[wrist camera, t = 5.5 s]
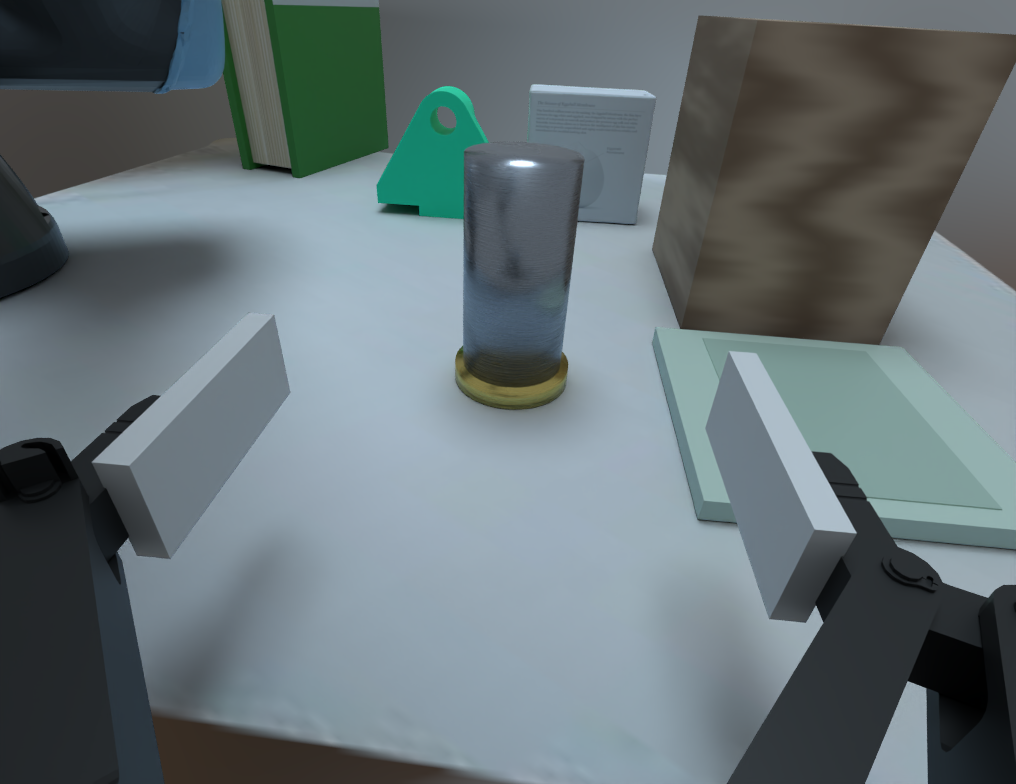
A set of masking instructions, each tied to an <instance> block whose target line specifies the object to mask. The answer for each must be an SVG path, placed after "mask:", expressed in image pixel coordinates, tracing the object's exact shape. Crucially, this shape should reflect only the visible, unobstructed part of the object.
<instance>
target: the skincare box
mask: <svg viewBox="0 0 1016 784" xmlns="http://www.w3.org/2000/svg"><path fill="white" fill-rule="evenodd" d="M655 103H656V97H655V96H654V95H652V94H650V93H649V92H647V91H644V90H628V89H609V88H589V87H571V86H570V87H569V86H554V85H538V84H533V85H532V86H531V88H530V93H529V117H528V135H527V142H530V143H541V144H548V145H554V146H559V147H563V148H567V149H571V150H574V151H576V152H578V153H580V154H582V155H583V156H584V158H585V161H584V169H583V178H582V186H581V195H580V203H579V212H578V220H577V221H592V222H609V223H622V224H635V223H636V220H637V211H638V205H639V199H640V194H641V187H642V181H643V175H644V169H645V162H646V157H647V151H648V145H649V138H650V132H651V125H652V120H653V113H654V109H655Z"/></svg>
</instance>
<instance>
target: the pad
mask: <svg viewBox="0 0 1016 784" xmlns="http://www.w3.org/2000/svg"><path fill="white" fill-rule="evenodd" d="M652 343H653V347H654V351H655V355H656V358H657V362H658V366H659V370H660V374H661V378H662V382H663V386H664V390H665V393H666V397H667V401H668V405H669V409H670V413H671V417H672V421H673V425H674V428H675V432H676V436H677V440H678V444H679V448H680V452H681V456H682V460H683V463H684V467H685V471H686V475H687V479H688V483H689V487H690V491H691V495H692V498H693V502H694V506H695V510H696V514H697V518H698V519H702V520H713V521H723V522H734V523H737V522H736V519H735V516H734V513H733V510H732V507H731V504H730V501H729V498H728V495H727V492H726V489H725V486H724V483H723V480H722V477H721V474H720V471H719V468H718V465H717V462H716V459H715V456H714V453H713V450H712V447H711V444H710V441H709V438H708V435H707V432H706V429H705V427H706V424H707V421H708V417H709V414H710V411H711V408H712V404H713V401H714V398H715V395H716V391H717V388H718V385H719V381H720V378H721V375H722V372H723V368H724V365H725V362H726V358H727V355H728V352H729V351H735V352H748V353H757V355H758V357H759V359H760V361H761V362H762V364H763V366H764V368H765V370H766V371H767V373H768V375H769V377H770V379H771V380H772V382H773V384H774V386H775V388H776V389H777V391H778V393H779V395H780V396H781V398H782V400H783V402H784V404H785V405H786V407H787V409H788V411H789V413H790V414H791V416H792V418H793V420H794V422H795V423H796V425H797V427H798V429H799V431H800V432H801V434H802V436H803V438H804V439H805V441H806V443H807V445H808V447H809V448H810V450H811V451H815V452H826V453H832V454H833V455H834V456H835V457H836V458H837V459H839V460H840V461H841V462H842V463H843V464H844V465H846V466H847V467H848V468H849V469H850V471H851V473H852V474H853V476H854V477H855V479H856V481H857V482H858V484H859V488H861V489H862V490H863V492H864V494H865V495H866V497H867V501H869V502H870V503H871V505H872V506H873V508H874V510H875V511H876V513H877V515H878V516H879V518H880V519H881V521H882V523H883V524H884V526H885V527H886V529H887V531H888V532H889V534H890V536H891V537H892V538H902V539H912V540H923V541H933V542H944V543H954V544H965V545H975V546H986V547H996V548H1007V549H1016V462H1015V461H1014V460H1013V459H1012V458H1011V457H1010V456H1009V455H1008V454H1007V453H1006V452H1005V451H1004V450H1003V449H1002V448H1001V447H1000V446H999V445H998V444H997V443H996V442H995V441H994V440H993V439H992V438H991V437H990V436H989V435H988V434H987V433H986V432H985V431H984V430H983V429H982V428H981V427H980V426H979V424H978V423H977V422H976V421H975V420H974V419H973V418H972V417H971V416H970V415H969V414H968V413H967V412H966V411H965V410H964V409H963V408H962V407H961V406H960V405H959V404H958V403H957V402H956V401H955V400H954V399H953V398H952V397H951V396H950V395H949V394H948V393H947V392H946V391H945V390H944V389H943V388H942V387H941V386H940V385H939V384H938V383H937V382H936V381H935V380H934V379H933V378H932V377H931V376H930V375H929V374H928V373H927V372H926V371H925V370H924V369H923V368H922V367H921V366H920V365H919V364H918V363H917V362H916V361H915V360H914V358H913V357H912V356H911V355H910V354H909V353H908V352H907V351H906V350H905V349H904V348H903V347H894V346H882V345H870V344H857V343H845V342H833V341H820V340H808V339H796V338H784V337H771V336H759V335H747V334H734V333H722V332H710V331H697V330H685V329H673V328H661V327H656V328H655V332H654V337H653V341H652Z"/></svg>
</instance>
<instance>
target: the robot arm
mask: <svg viewBox="0 0 1016 784" xmlns="http://www.w3.org/2000/svg"><path fill="white" fill-rule="evenodd" d="M224 65H225V38H224V24H223V12H222V3H221V0H0V89H19V90H71V91H73V90H74V91H126V92H127V91H128V92H153V93H156V94H163V93H166V92H168V91H170V90H175V89H176V90H177V89H197V88H206V87H210V86H212V85H213V84H215V83H216V82H217V81H218V80H219V79H220V77H221V76H222V73H223V70H224ZM68 255H69V252H68V249H67V246H66V244H65V242H64V239H63V237H62V234H61V232H60V229H59V227H58V225H57V223H56V221H55V220H54V218H53V217H52V216H51V214H50V213H49V212H48V211H47V210H46V209H44V208H42V207H40V206H38V205H37V203H36V201H35V200H34V198H33V197H32V195H31V194H30V192H29V191H28V189H27V188H26V187H25V185H24V184H23V183H22V181H21V180H20V179H19V177H18V176H17V175H16V174H15V172H14V171H13V170H12V169H11V167H10V166H9V165H8V164H7V162H6V161H5V160H4V159H3V158H2V156H1V155H0V298H1V297H4V296H7V295H9V294H12V293H15V292H17V291H20V290H22V289H24V288H27V287H29V286H31V285H33V284H35V283H37V282H39V281H41V280H43V279H45V278H46V277H48V276H50V275H51V274H53V273H54V272H56V271H57V270H58V269H59V268H60V267H61V266H62V265H63V264H64V263H65V262H66V260H67V258H68ZM289 394H290V389H289V384H288V379H287V374H286V370H285V365H284V360H283V355H282V350H281V346H280V341H279V336H278V331H277V326H276V322H275V317H274V315H272V314H260V313H248V314H247V315H245V316H244V317H243V318H242V319H241V320H240V321H239V322H238V323H237V324H236V325H235V326H234V327H233V328H232V329H231V330H230V331H229V332H228V333H227V334H226V335H224V336H223V337H222V338H221V339H220V340H219V341H218V342H217V343H216V344H215V345H214V346H213V347H212V348H211V349H210V350H209V351H208V352H207V353H206V354H205V355H203V356H202V357H201V358H200V359H199V360H198V361H197V362H196V363H195V364H194V365H193V366H192V367H191V368H190V369H189V370H188V371H187V372H186V373H185V374H184V375H183V376H181V377H180V378H179V379H178V380H177V381H176V382H175V383H174V384H173V385H172V386H171V387H170V388H169V389H168V390H167V391H166V392H165V393H164V394H163V395H162V396H157V395H152V396H150V397H148V398H146V399H144V400H142V401H140V402H139V403H137V404H135V405H133V406H131V407H130V408H129V409H128V410H127V411H126V412H125V413H124V414H123V415H121V416H120V417H119V418H118V419H117V422H114V423H113V424H112V425H110V426H109V427H108V428H107V429H106V430H105V433H102V434H101V435H100V436H98V437H97V438H96V439H95V440H94V441H93V442H92V443H91V444H90V445H89V446H87V447H86V448H85V449H84V450H83V451H82V452H81V453H80V454H79V455H78V456H76V457H75V458H74V459H73V460H72V461H70V459H69V457H68V456H67V454H66V452H65V450H64V448H63V446H62V445H61V443H60V441H57V440H54V439H51V438H34V439H29V440H24V441H20V442H17V443H14V444H12V445H9V446H6V447H4V448H3V449H1V450H0V784H165V783H164V778H163V773H162V768H161V762H160V757H159V752H158V747H157V741H156V736H155V731H154V726H153V721H152V715H151V710H150V705H149V700H148V694H147V689H146V684H145V679H144V673H143V668H142V663H141V658H140V652H139V647H138V642H137V637H136V632H135V626H134V621H133V616H132V611H131V605H130V600H129V595H128V590H127V584H126V579H125V574H124V569H123V564H122V560H121V558H120V556H119V554H118V552H117V551H118V549H119V548H120V547H121V546H122V545H123V543H124V542H125V541H126V540H127V539H128V538H129V540H130V542H131V544H132V546H133V548H134V550H135V552H136V554H137V556H147V557H157V558H167V559H171V557H172V556H173V555H174V553H175V552H176V550H177V549H178V548H179V546H180V545H181V543H182V542H183V541H184V539H185V538H186V537H187V535H188V534H189V532H190V531H191V530H192V528H193V527H194V525H195V524H196V523H197V521H198V520H199V519H200V517H201V516H202V514H203V513H204V512H205V510H206V509H207V507H208V506H209V505H210V503H211V502H212V500H213V499H214V498H215V496H216V495H217V494H218V492H219V491H220V489H221V488H222V487H223V485H224V484H225V482H226V481H227V480H228V478H229V477H230V475H231V474H232V473H233V471H234V470H235V469H236V467H237V466H238V464H239V463H240V462H241V460H242V459H243V457H244V456H245V455H246V453H247V452H248V450H249V449H250V448H251V446H252V445H253V444H254V442H255V441H256V439H257V438H258V437H259V435H260V434H261V432H262V431H263V430H264V428H265V427H266V425H267V424H268V423H269V421H270V420H271V419H272V417H273V416H274V414H275V413H276V412H277V410H278V409H279V407H280V406H281V405H282V403H283V402H284V400H285V399H286V398H287V396H288V395H289ZM705 429H706V432H707V435H708V438H709V441H710V444H711V447H712V450H713V453H714V456H715V459H716V462H717V465H718V468H719V471H720V474H721V477H722V480H723V483H724V486H725V489H726V492H727V495H728V498H729V501H730V504H731V507H732V510H733V513H734V516H735V519H736V522H737V524H738V527H739V530H740V533H741V536H742V539H743V542H744V545H745V548H746V551H747V554H748V557H749V560H750V563H751V566H752V569H753V572H754V575H755V578H756V581H757V584H758V587H759V590H760V593H761V596H762V599H763V602H764V605H765V608H766V611H767V614H768V617H769V619H775V620H785V621H795V622H805V623H806V622H807V620H808V618H809V616H810V615H811V613H812V611H813V609H814V608H815V606H817V608H818V611H819V613H820V615H821V618H822V620H823V622H824V623H823V625H822V626H821V628H820V630H819V631H818V633H817V635H816V636H815V638H814V640H813V641H812V643H811V645H810V646H809V648H808V650H807V651H806V653H805V655H804V656H803V658H802V659H801V661H800V663H799V664H798V666H797V668H796V669H795V671H794V673H793V674H792V676H791V678H790V679H789V681H788V683H787V684H786V686H785V688H784V689H783V691H782V693H781V694H780V696H779V698H778V699H777V701H776V703H775V704H774V706H773V708H772V709H771V711H770V713H769V714H768V716H767V718H766V719H765V721H764V723H763V724H762V726H761V728H760V729H759V731H758V733H757V734H756V736H755V738H754V739H753V741H752V743H751V744H750V746H749V748H748V749H747V751H746V753H745V754H744V756H743V758H742V759H741V761H740V763H739V764H738V766H737V768H736V769H735V771H734V773H733V774H732V776H731V777H730V779H729V781H728V782H727V784H865V782H866V780H867V777H868V775H869V772H870V770H871V768H872V765H873V763H874V760H875V758H876V755H877V753H878V751H879V748H880V746H881V743H882V741H883V739H884V736H885V734H886V731H887V729H888V727H889V724H890V722H891V719H892V717H893V715H894V712H895V710H896V707H897V705H898V703H899V700H900V698H901V695H902V693H903V690H904V688H905V686H906V683H907V681H909V682H912V683H914V684H917V685H920V686H922V687H925V688H926V691H927V753H928V784H1016V585H1003V586H1001V587H999V588H997V589H996V590H995V591H994V592H993V593H992V594H991V595H990V597H989V598H986V597H983V596H980V595H977V594H974V593H971V592H968V591H965V590H962V589H959V588H956V587H953V586H950V585H947V584H945V583H943V582H942V580H941V579H940V577H939V575H938V573H937V572H936V571H935V570H934V569H933V568H932V567H931V566H930V565H929V564H928V563H927V562H926V561H924V560H922V559H921V558H919V557H918V556H916V555H915V554H913V553H911V552H909V551H906V550H904V549H901V548H899V547H897V545H896V544H895V542H894V540H893V539H892V537H891V536H890V534H889V532H888V531H887V529H886V527H885V526H884V524H883V523H882V521H881V519H880V518H879V516H878V515H877V513H876V511H875V510H874V508H873V506H872V505H871V503H870V502H869V501H867V497H866V495H865V494H864V492H863V490H862V489H861V488H859V484H858V482H857V481H856V479H855V477H854V476H853V474H852V473H851V471H850V469H849V468H848V467H847V466H846V465H844V464H843V463H842V462H841V461H840V460H839V459H837V458H836V457H835V456H834V455H833V454H832V453H826V452H815V451H811V450H810V448H809V447H808V445H807V443H806V441H805V439H804V438H803V436H802V434H801V432H800V431H799V429H798V427H797V425H796V423H795V422H794V420H793V418H792V416H791V414H790V413H789V411H788V409H787V407H786V405H785V404H784V402H783V400H782V398H781V396H780V395H779V393H778V391H777V389H776V388H775V386H774V384H773V382H772V380H771V379H770V377H769V375H768V373H767V371H766V370H765V368H764V366H763V364H762V362H761V361H760V359H759V357H758V355H757V353H748V352H735V351H729V352H728V355H727V358H726V362H725V365H724V368H723V372H722V375H721V378H720V381H719V385H718V388H717V391H716V395H715V398H714V401H713V404H712V408H711V411H710V414H709V417H708V421H707V424H706V427H705Z"/></svg>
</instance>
